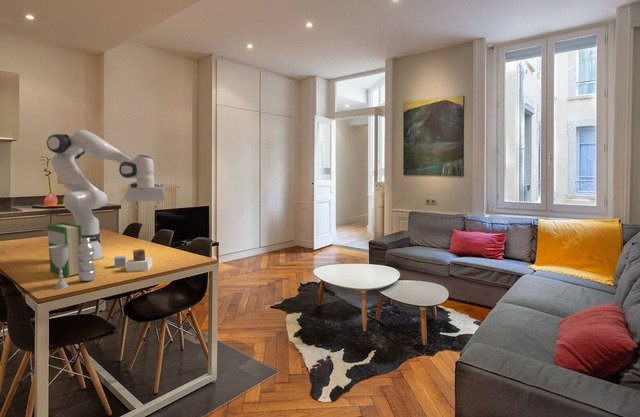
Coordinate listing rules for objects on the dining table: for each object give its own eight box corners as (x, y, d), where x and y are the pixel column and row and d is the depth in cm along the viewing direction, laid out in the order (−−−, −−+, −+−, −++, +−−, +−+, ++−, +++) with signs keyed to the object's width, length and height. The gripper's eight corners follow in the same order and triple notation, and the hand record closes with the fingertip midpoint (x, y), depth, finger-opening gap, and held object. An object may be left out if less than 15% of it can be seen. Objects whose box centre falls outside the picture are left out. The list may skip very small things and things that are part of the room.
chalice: (67, 283, 165) (65, 244, 163) (74, 286, 161) (72, 245, 159) (48, 287, 159) (45, 246, 157) (55, 290, 155) (52, 248, 153)
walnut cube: (134, 261, 187) (133, 251, 187) (133, 259, 191) (133, 250, 191) (145, 260, 190) (144, 250, 189) (144, 258, 194) (143, 249, 193)
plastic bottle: (83, 278, 172) (81, 236, 170) (98, 278, 173) (96, 236, 171) (75, 283, 166) (73, 239, 164) (91, 282, 166) (89, 239, 164)
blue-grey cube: (114, 268, 192) (114, 258, 192) (115, 265, 197) (114, 256, 196) (125, 266, 195) (125, 257, 194) (125, 264, 199) (125, 255, 199)
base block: (126, 272, 185) (126, 262, 185) (131, 267, 195) (131, 258, 195) (148, 271, 188) (147, 261, 187) (152, 266, 197) (151, 257, 197)
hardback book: (84, 274, 180) (81, 225, 177) (67, 277, 174) (64, 227, 171) (67, 268, 189) (64, 222, 187) (50, 272, 183) (47, 224, 181)
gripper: (165, 184, 213) (166, 207, 215) (125, 184, 204) (126, 209, 205) (166, 184, 208) (167, 208, 209) (125, 184, 198) (126, 210, 200)
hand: (146, 209), depth 207 cm, fingers open, 8 cm apart
